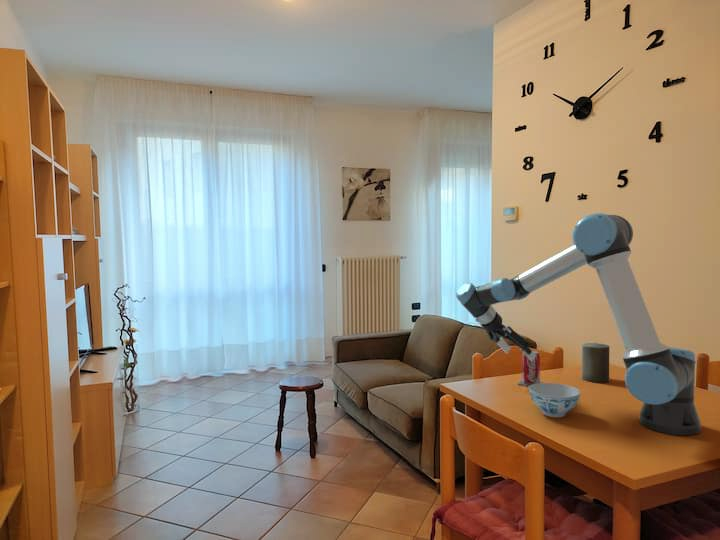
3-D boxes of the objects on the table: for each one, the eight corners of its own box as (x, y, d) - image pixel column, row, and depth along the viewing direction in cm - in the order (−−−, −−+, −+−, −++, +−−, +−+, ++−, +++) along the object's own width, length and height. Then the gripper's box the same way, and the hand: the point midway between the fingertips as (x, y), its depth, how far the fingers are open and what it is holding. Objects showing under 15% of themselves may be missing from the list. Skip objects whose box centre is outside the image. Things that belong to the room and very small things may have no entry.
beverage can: (543, 384, 182) (543, 352, 181) (530, 386, 179) (530, 354, 179) (531, 379, 187) (532, 349, 187) (518, 381, 185) (518, 350, 185)
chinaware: (590, 416, 149) (590, 392, 149) (558, 425, 142) (558, 400, 141) (550, 403, 162) (550, 380, 162) (518, 410, 155) (518, 387, 154)
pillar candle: (611, 383, 183) (612, 344, 183) (583, 381, 186) (583, 343, 186) (606, 377, 192) (607, 340, 192) (580, 375, 195) (580, 338, 195)
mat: (538, 388, 178) (538, 386, 178) (517, 384, 183) (517, 383, 183) (544, 384, 184) (544, 382, 184) (524, 380, 188) (524, 379, 188)
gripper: (462, 320, 186) (493, 355, 193) (504, 330, 163) (538, 369, 169) (473, 306, 188) (504, 341, 194) (516, 314, 165) (550, 353, 171)
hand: (520, 354), depth 182 cm, fingers open, 13 cm apart
